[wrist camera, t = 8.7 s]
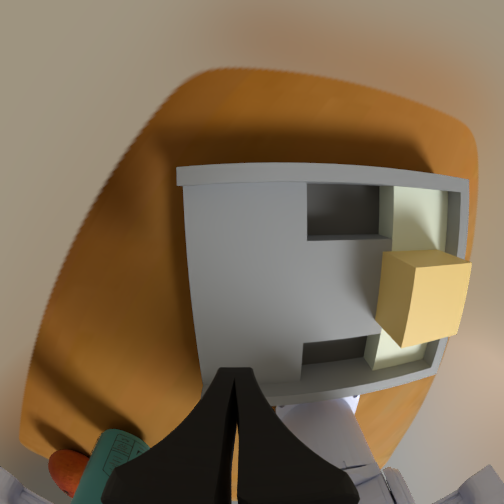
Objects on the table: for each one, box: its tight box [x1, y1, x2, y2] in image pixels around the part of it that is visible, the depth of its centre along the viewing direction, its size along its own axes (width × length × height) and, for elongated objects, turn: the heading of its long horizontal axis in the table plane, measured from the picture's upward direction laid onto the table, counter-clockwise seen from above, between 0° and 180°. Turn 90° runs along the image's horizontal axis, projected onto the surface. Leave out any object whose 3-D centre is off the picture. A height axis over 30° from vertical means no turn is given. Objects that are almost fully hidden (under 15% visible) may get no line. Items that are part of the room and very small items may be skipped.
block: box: [375, 249, 472, 348], centre depth 15 cm, size 5×5×4 cm
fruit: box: [48, 449, 89, 498], centre depth 21 cm, size 9×9×8 cm
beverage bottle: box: [71, 429, 150, 504], centre depth 13 cm, size 6×7×20 cm
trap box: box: [176, 163, 469, 406], centre depth 17 cm, size 16×19×4 cm
